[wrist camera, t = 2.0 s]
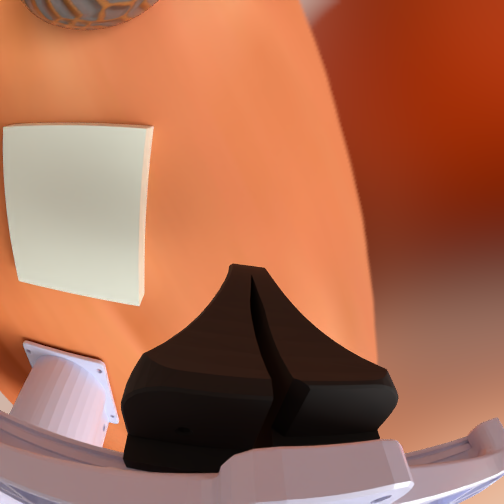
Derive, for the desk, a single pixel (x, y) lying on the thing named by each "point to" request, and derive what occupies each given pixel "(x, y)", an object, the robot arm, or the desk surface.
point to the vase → (87, 12)
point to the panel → (78, 206)
